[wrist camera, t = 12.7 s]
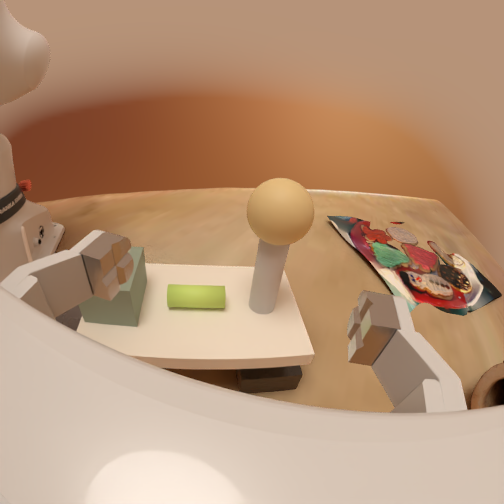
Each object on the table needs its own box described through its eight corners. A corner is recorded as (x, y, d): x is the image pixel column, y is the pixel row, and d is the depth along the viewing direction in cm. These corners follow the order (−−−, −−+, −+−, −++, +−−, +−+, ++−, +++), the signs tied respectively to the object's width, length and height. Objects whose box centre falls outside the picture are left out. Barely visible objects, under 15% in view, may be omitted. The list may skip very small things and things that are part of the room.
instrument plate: (76, 358, 18) (19, 210, 11) (107, 272, 28) (92, 154, 21) (309, 364, 22) (369, 223, 15) (280, 277, 32) (306, 163, 25)
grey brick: (89, 313, 31) (74, 271, 27) (275, 316, 35) (285, 274, 32) (65, 389, 21) (37, 351, 17) (297, 396, 26) (316, 360, 22)
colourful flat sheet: (420, 336, 34) (426, 327, 33) (324, 223, 62) (326, 216, 61) (500, 298, 43) (504, 292, 42) (419, 224, 71) (421, 219, 70)
